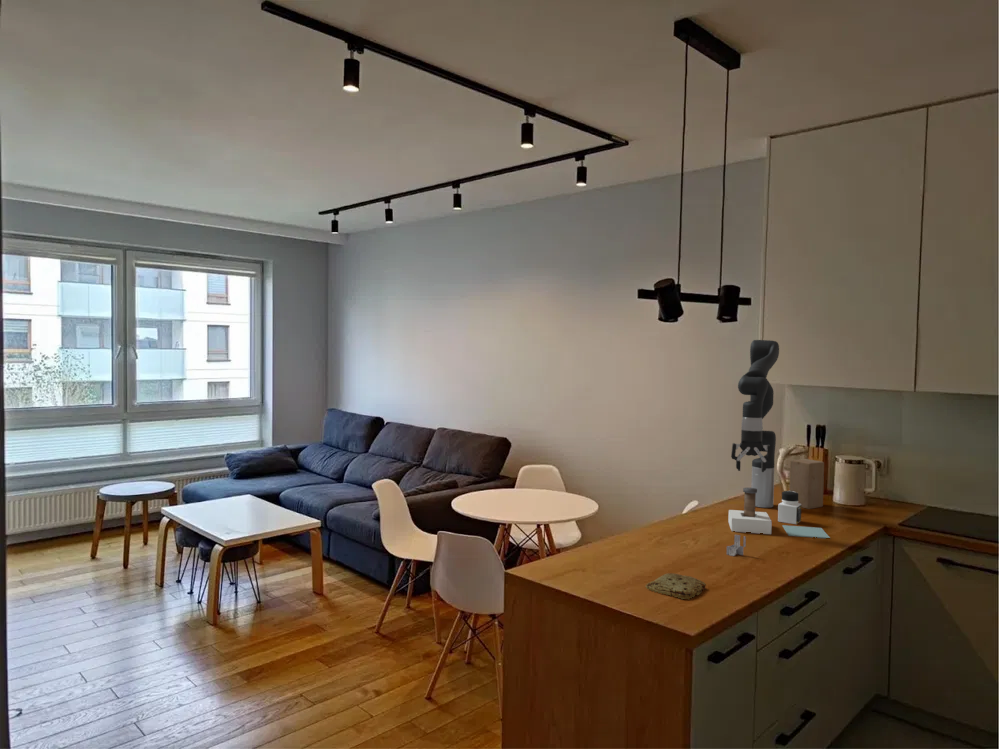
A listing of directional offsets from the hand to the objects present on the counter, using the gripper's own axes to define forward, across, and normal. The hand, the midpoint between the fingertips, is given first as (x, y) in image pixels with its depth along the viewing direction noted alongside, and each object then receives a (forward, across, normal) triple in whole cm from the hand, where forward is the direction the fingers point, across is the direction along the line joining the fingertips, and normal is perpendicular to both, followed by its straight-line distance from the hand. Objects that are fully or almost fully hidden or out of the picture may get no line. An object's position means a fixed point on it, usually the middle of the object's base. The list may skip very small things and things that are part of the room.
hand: (750, 471), depth 256 cm
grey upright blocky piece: (+23, +6, +42) cm, 48 cm away
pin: (+22, 0, 0) cm, 22 cm away
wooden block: (+22, -29, -48) cm, 60 cm away
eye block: (+22, 0, 0) cm, 22 cm away
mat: (+22, -20, 0) cm, 30 cm away
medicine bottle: (+22, -17, -16) cm, 32 cm away
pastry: (+23, +28, +76) cm, 84 cm away
